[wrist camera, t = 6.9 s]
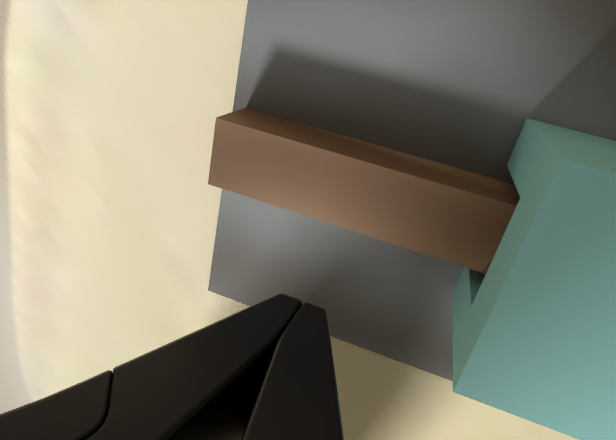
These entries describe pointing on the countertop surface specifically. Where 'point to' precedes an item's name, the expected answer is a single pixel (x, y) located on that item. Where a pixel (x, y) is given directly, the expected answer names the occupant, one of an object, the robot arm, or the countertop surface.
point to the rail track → (392, 151)
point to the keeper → (547, 291)
